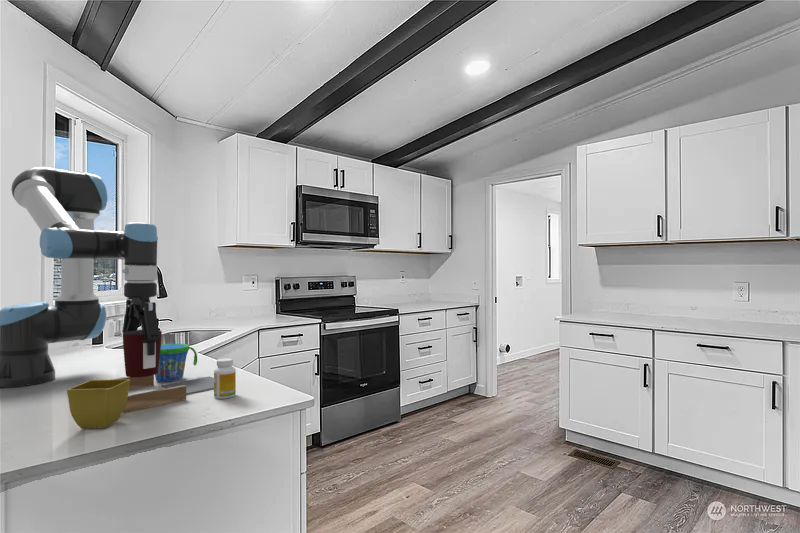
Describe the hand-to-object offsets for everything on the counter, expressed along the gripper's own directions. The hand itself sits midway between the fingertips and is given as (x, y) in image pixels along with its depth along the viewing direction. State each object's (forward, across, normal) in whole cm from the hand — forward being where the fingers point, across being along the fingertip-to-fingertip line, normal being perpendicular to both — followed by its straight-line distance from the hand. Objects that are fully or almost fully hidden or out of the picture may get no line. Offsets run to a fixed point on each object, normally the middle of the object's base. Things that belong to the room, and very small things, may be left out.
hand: (140, 364), depth 122 cm
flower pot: (+9, +17, -14) cm, 24 cm away
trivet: (+9, 0, +15) cm, 17 cm away
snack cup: (+9, -14, +13) cm, 21 cm away
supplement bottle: (+9, +16, +15) cm, 24 cm away
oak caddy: (+9, +1, -2) cm, 9 cm away
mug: (+3, 0, 0) cm, 3 cm away
